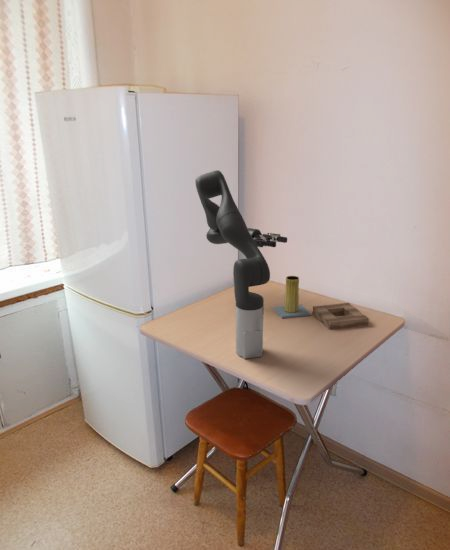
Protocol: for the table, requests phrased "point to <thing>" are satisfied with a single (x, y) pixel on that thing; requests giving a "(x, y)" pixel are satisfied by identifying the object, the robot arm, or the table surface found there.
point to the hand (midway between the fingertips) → (281, 242)
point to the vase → (292, 294)
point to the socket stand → (349, 320)
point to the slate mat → (285, 314)
